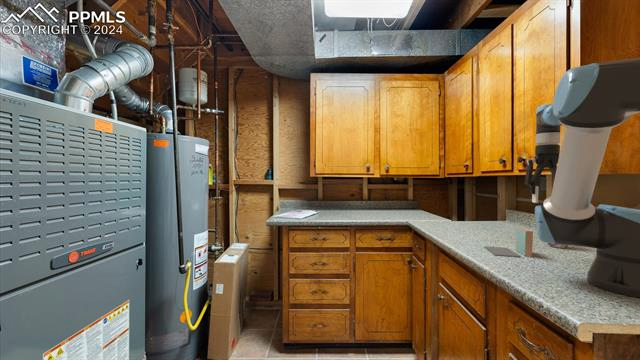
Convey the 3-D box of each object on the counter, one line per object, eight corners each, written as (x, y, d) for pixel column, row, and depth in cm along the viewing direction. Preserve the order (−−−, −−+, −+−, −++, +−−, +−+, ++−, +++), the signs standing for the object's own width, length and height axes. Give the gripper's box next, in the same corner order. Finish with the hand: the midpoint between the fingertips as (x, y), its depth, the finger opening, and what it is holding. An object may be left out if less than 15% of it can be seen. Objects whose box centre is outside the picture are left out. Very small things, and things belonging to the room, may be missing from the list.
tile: (532, 256, 106) (533, 231, 106) (525, 256, 107) (526, 231, 107) (521, 250, 114) (522, 227, 114) (515, 250, 115) (516, 226, 114)
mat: (521, 257, 106) (521, 256, 105) (495, 255, 107) (495, 254, 107) (507, 248, 117) (507, 247, 117) (483, 247, 119) (483, 246, 119)
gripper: (569, 145, 109) (567, 202, 110) (515, 145, 113) (513, 200, 114) (583, 143, 102) (580, 204, 102) (524, 144, 106) (522, 203, 107)
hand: (545, 202), depth 108 cm, fingers open, 6 cm apart
